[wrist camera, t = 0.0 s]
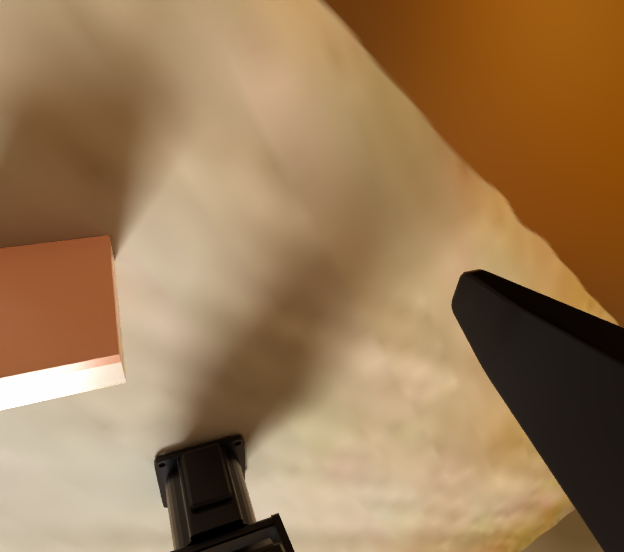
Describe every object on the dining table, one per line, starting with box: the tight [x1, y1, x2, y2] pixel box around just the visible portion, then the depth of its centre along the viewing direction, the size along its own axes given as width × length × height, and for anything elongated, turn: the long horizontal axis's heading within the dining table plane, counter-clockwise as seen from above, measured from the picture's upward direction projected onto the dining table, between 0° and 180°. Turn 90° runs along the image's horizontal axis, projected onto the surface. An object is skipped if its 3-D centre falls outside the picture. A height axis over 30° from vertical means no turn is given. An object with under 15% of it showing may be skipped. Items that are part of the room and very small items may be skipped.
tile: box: [0, 235, 126, 410], centre depth 19 cm, size 2×6×8 cm, turn 83°
